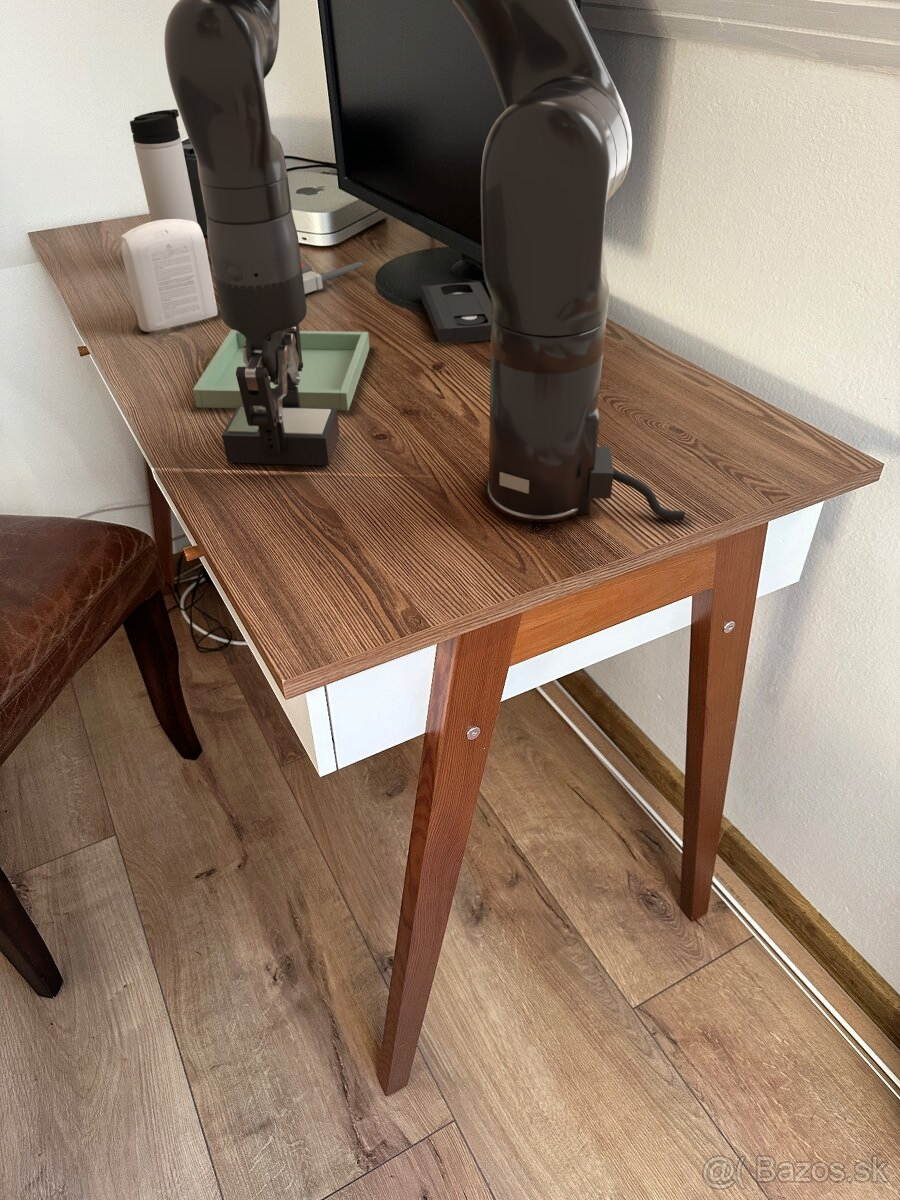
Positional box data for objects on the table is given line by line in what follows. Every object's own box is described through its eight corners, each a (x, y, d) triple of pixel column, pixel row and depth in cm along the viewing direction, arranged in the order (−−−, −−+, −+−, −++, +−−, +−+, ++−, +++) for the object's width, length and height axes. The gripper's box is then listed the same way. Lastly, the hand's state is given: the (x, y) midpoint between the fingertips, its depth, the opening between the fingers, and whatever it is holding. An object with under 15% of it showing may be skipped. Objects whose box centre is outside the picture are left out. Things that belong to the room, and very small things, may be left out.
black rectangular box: (339, 434, 90) (336, 406, 88) (328, 465, 85) (325, 436, 83) (243, 431, 91) (238, 403, 89) (227, 462, 86) (221, 433, 84)
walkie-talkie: (249, 317, 115) (367, 276, 125) (243, 283, 112) (365, 244, 122) (212, 299, 120) (329, 261, 130) (205, 266, 117) (325, 230, 127)
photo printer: (211, 307, 118) (192, 209, 110) (224, 317, 115) (205, 218, 107) (135, 325, 113) (109, 225, 105) (146, 336, 111) (121, 234, 103)
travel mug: (201, 270, 128) (171, 115, 115) (156, 271, 128) (120, 116, 115) (211, 255, 133) (182, 105, 120) (167, 255, 133) (134, 106, 120)
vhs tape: (502, 339, 108) (503, 323, 107) (439, 345, 107) (438, 329, 106) (479, 295, 119) (480, 280, 118) (421, 300, 118) (421, 285, 117)
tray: (369, 350, 106) (368, 331, 105) (348, 413, 95) (346, 393, 93) (234, 348, 108) (231, 329, 106) (196, 410, 96) (192, 389, 94)
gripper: (281, 299, 71) (306, 478, 81) (316, 238, 82) (334, 403, 92) (189, 297, 71) (226, 476, 82) (236, 237, 82) (263, 402, 93)
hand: (283, 437), depth 87 cm, fingers closed on black rectangular box, 6 cm apart
